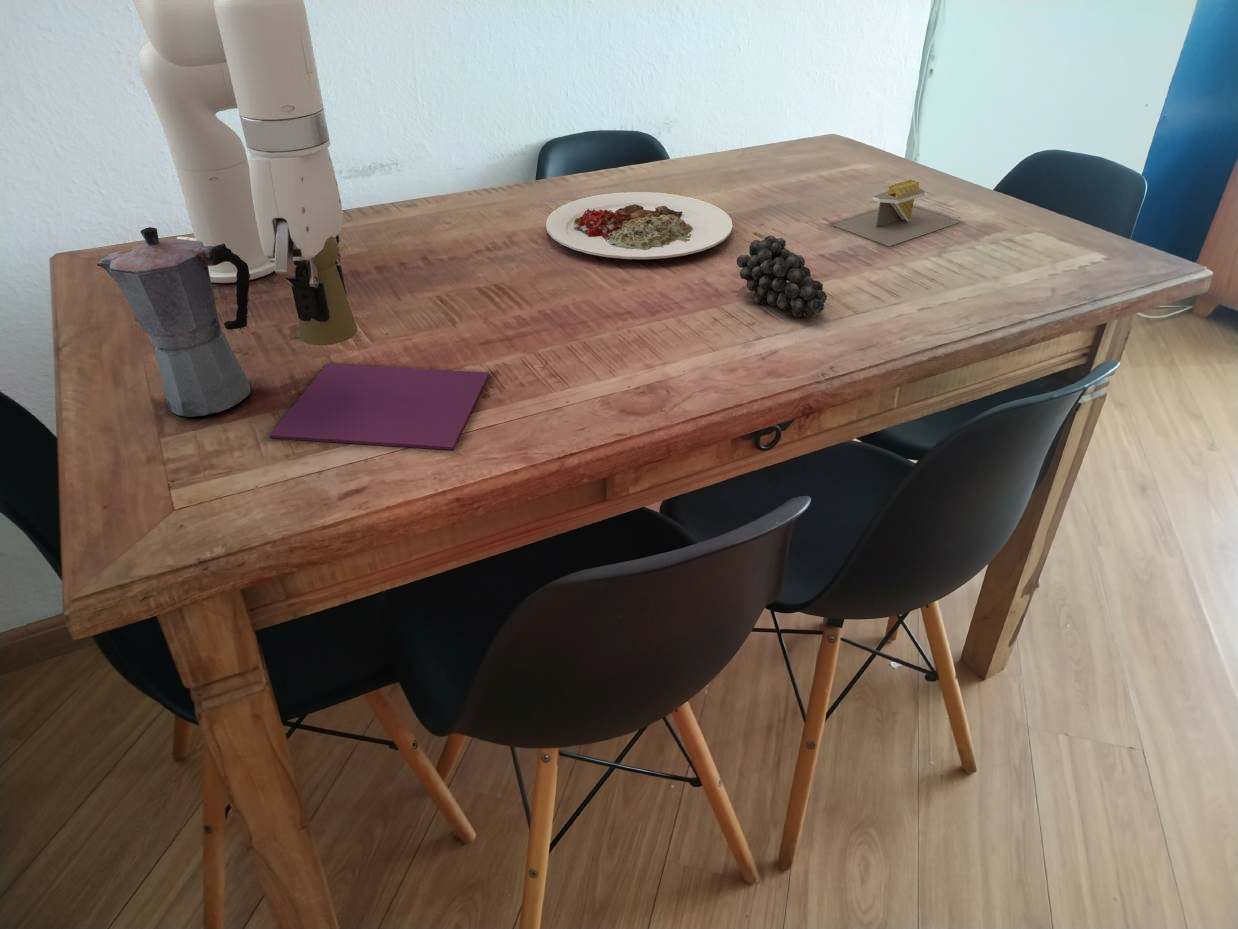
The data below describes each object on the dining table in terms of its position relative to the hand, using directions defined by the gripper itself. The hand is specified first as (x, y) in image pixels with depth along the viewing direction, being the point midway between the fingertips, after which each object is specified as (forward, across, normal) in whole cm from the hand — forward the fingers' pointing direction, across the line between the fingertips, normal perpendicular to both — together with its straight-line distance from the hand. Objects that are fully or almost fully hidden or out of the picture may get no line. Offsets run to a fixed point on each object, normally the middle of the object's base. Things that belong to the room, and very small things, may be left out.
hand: (323, 308), depth 94 cm
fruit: (+12, -31, +50) cm, 60 cm away
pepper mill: (+3, 0, 0) cm, 3 cm away
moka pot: (+12, +1, -15) cm, 19 cm away
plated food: (+12, -57, +28) cm, 65 cm away
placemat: (+12, 0, +5) cm, 13 cm away
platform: (+12, -66, +70) cm, 97 cm away
